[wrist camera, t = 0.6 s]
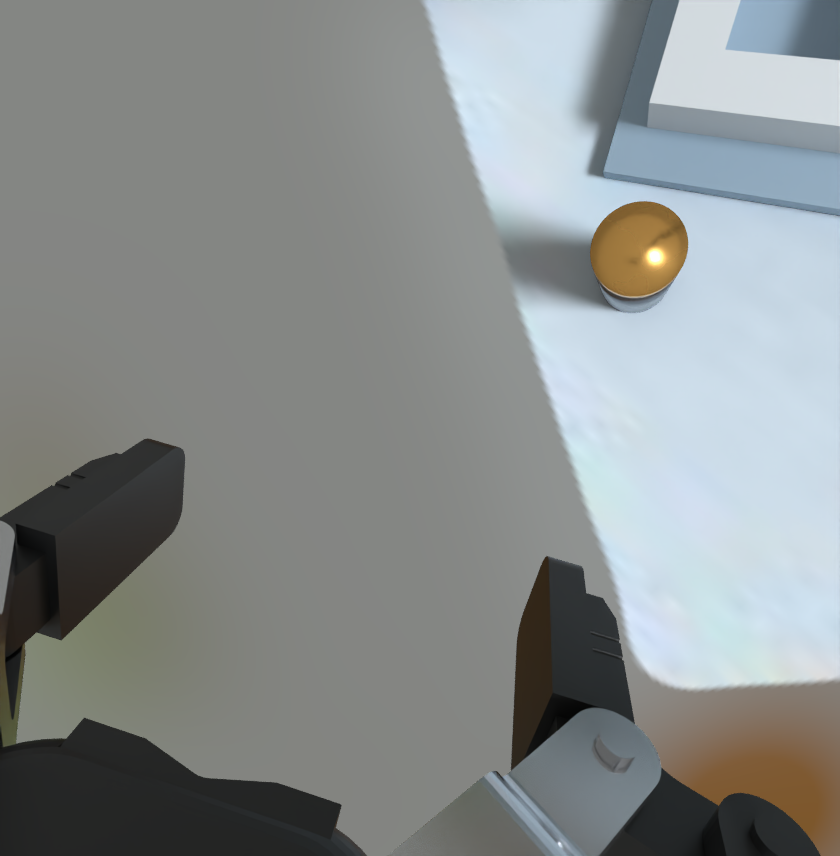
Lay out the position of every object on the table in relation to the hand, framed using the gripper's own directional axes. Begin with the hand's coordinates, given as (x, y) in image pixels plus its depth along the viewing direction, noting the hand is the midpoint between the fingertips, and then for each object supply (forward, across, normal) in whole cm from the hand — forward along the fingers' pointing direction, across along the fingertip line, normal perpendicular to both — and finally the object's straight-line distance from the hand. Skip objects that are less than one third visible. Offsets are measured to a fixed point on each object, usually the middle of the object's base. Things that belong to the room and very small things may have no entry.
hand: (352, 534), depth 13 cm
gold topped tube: (+28, -9, -4) cm, 30 cm away
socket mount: (+30, -13, -17) cm, 37 cm away
